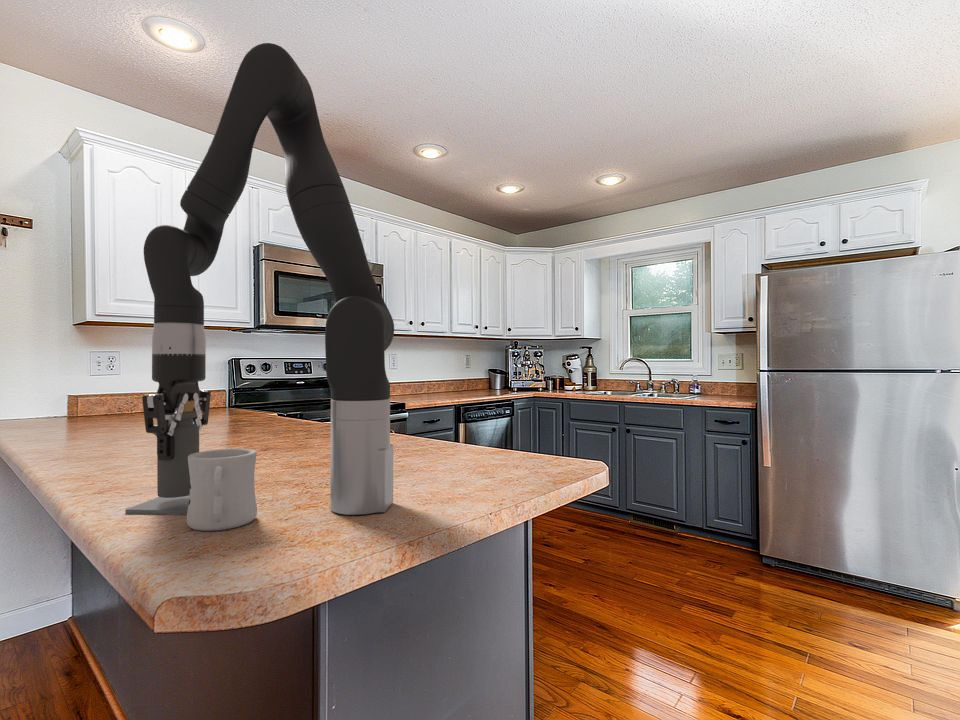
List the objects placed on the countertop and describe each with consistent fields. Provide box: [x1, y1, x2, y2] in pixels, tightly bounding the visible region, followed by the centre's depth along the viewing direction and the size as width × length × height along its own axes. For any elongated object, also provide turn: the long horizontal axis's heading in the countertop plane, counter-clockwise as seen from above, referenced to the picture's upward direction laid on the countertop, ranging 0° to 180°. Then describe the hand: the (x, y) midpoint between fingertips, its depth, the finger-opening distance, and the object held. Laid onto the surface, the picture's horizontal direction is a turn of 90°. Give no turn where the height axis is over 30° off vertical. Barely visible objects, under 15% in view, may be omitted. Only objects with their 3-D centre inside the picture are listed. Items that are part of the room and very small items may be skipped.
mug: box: [186, 448, 258, 532], centre depth 72 cm, size 12×9×10 cm
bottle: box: [156, 400, 200, 498], centre depth 82 cm, size 6×6×15 cm
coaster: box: [125, 495, 190, 515], centre depth 82 cm, size 10×10×1 cm
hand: (179, 455), depth 83 cm, fingers closed on bottle, 5 cm apart
